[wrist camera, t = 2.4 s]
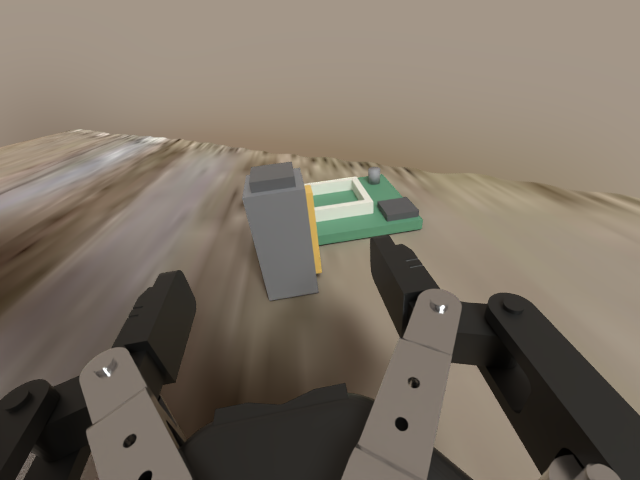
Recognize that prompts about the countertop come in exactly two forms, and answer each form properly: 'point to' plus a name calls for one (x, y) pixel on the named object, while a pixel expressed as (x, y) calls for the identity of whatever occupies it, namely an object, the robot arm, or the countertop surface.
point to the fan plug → (283, 229)
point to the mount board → (361, 208)
